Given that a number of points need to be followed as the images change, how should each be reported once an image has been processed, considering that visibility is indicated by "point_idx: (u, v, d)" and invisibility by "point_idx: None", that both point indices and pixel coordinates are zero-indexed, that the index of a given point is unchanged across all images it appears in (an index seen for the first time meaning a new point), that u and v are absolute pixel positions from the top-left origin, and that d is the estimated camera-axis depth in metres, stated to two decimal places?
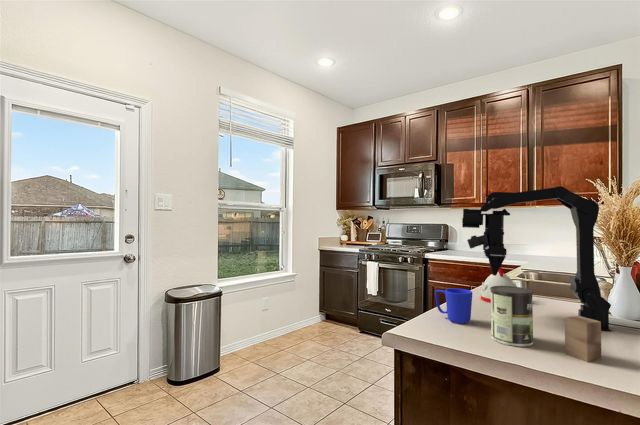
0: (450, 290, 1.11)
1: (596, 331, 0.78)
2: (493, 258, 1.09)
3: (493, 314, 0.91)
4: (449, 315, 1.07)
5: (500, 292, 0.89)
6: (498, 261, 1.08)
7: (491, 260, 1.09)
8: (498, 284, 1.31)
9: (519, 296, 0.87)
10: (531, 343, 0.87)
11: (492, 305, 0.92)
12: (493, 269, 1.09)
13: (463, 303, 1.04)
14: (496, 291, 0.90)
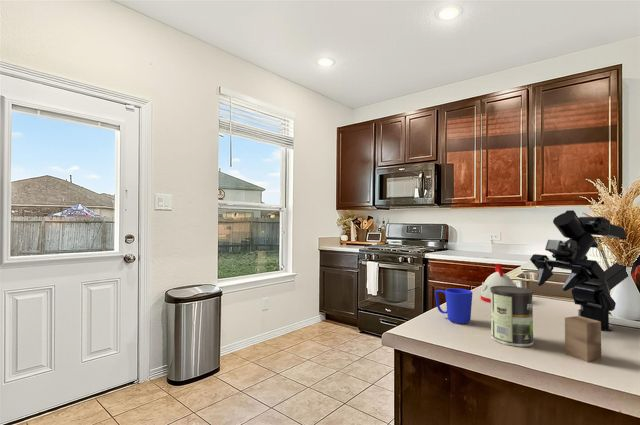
0: (450, 290, 1.11)
1: (596, 331, 0.78)
2: None
3: (493, 314, 0.91)
4: (449, 315, 1.07)
5: (500, 292, 0.89)
6: (579, 280, 0.93)
7: (576, 275, 0.93)
8: (498, 284, 1.31)
9: (519, 296, 0.87)
10: (531, 343, 0.87)
11: (492, 305, 0.92)
12: (569, 284, 0.93)
13: (463, 303, 1.04)
14: (496, 291, 0.90)
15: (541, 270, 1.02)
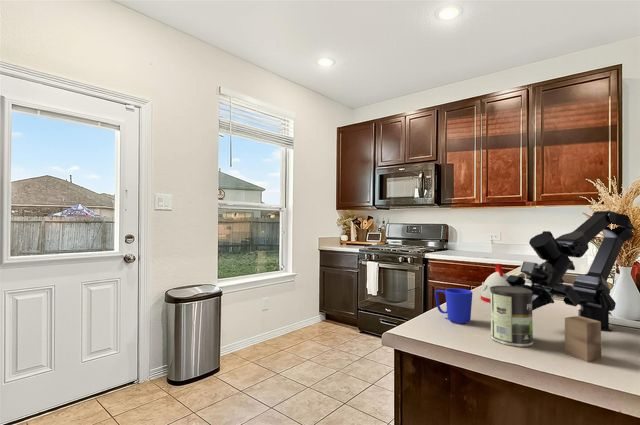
0: (450, 290, 1.11)
1: (596, 331, 0.78)
2: (539, 296, 0.93)
3: (493, 314, 0.91)
4: (449, 315, 1.07)
5: (500, 292, 0.89)
6: (541, 302, 0.93)
7: (538, 296, 0.92)
8: (498, 284, 1.31)
9: (519, 296, 0.87)
10: (531, 343, 0.87)
11: (491, 305, 0.92)
12: None
13: (463, 303, 1.04)
14: (496, 291, 0.90)
15: None
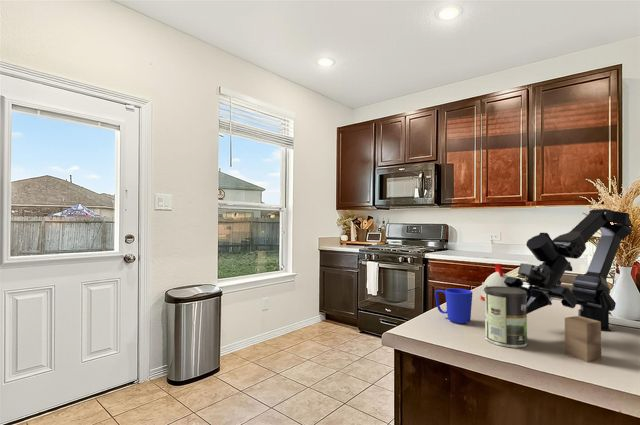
0: (450, 290, 1.11)
1: (596, 331, 0.78)
2: (537, 298, 0.93)
3: (487, 315, 0.91)
4: (449, 315, 1.07)
5: (494, 293, 0.88)
6: (538, 304, 0.93)
7: (536, 298, 0.92)
8: (498, 284, 1.31)
9: (513, 297, 0.86)
10: (525, 344, 0.86)
11: (486, 306, 0.91)
12: (528, 308, 0.92)
13: (463, 303, 1.04)
14: (490, 292, 0.89)
15: None
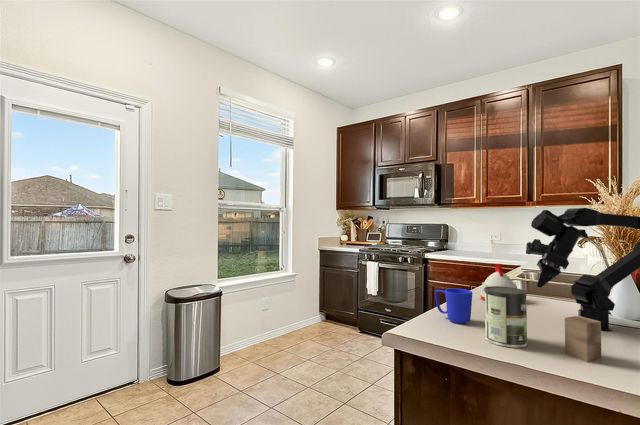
0: (450, 290, 1.11)
1: (596, 331, 0.78)
2: (546, 270, 1.02)
3: (487, 315, 0.91)
4: (449, 315, 1.07)
5: (494, 293, 0.88)
6: (550, 274, 1.01)
7: (543, 270, 1.02)
8: (498, 284, 1.31)
9: (513, 297, 0.86)
10: (525, 344, 0.86)
11: (486, 306, 0.91)
12: (541, 280, 1.03)
13: (463, 303, 1.04)
14: (490, 292, 0.89)
15: (540, 272, 1.05)
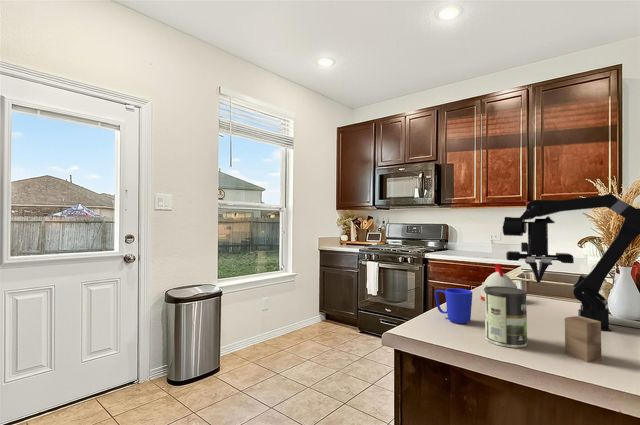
0: (450, 290, 1.11)
1: (596, 331, 0.78)
2: None
3: (487, 315, 0.91)
4: (449, 315, 1.07)
5: (494, 293, 0.88)
6: None
7: (531, 266, 1.14)
8: (498, 284, 1.31)
9: (513, 297, 0.86)
10: (525, 344, 0.86)
11: (486, 306, 0.91)
12: (535, 275, 1.13)
13: (463, 303, 1.04)
14: (490, 292, 0.89)
15: None
